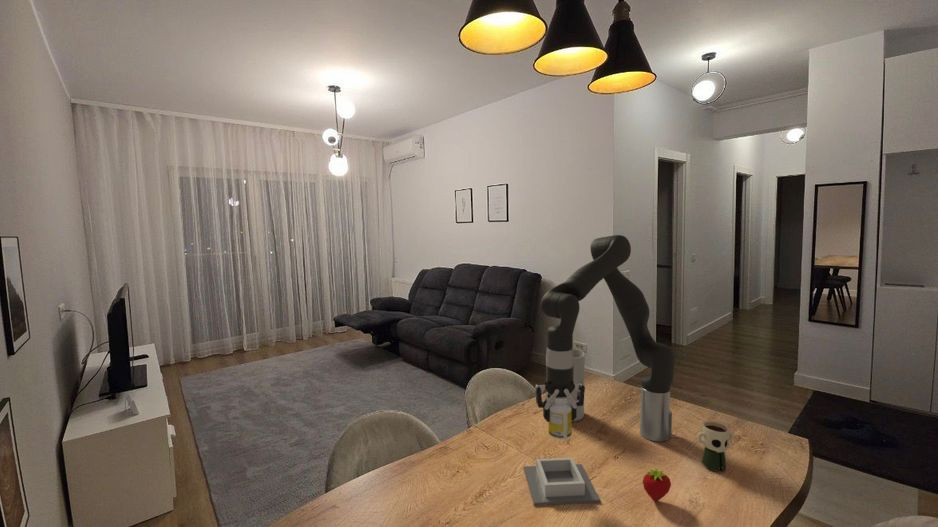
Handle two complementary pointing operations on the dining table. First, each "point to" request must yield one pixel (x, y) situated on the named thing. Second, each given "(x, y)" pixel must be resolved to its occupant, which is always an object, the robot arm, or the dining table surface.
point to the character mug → (715, 444)
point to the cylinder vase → (578, 379)
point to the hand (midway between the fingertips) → (559, 419)
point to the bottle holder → (559, 482)
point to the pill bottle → (560, 418)
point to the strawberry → (656, 484)
